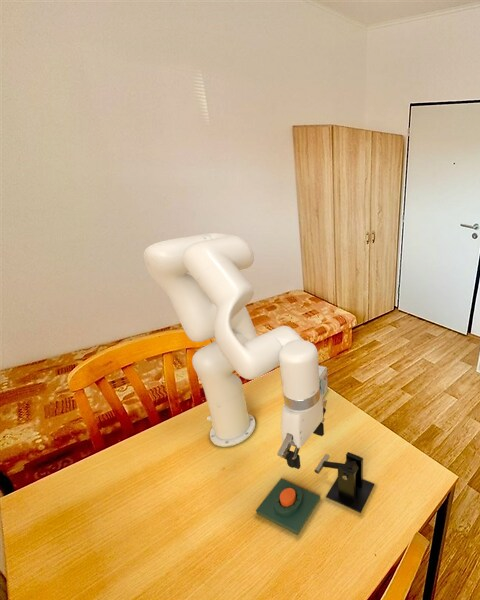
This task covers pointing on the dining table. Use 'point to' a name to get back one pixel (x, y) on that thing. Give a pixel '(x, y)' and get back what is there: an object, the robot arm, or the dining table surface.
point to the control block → (292, 515)
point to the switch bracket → (351, 486)
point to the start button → (287, 497)
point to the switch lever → (335, 464)
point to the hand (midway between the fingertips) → (306, 449)
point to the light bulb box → (323, 380)
